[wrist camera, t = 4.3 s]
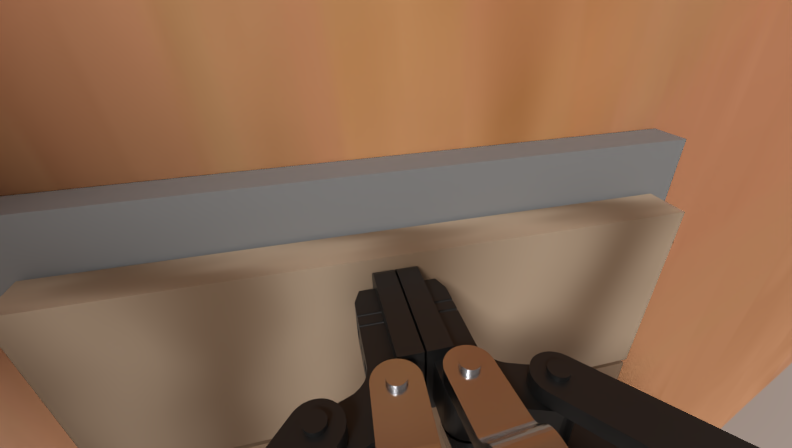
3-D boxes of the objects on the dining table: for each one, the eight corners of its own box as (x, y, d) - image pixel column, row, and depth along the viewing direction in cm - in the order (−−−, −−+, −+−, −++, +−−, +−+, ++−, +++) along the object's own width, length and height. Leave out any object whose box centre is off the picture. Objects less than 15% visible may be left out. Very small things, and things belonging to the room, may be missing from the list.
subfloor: (215, 581, 25) (206, 647, 23) (-24, 198, 12) (-118, 254, 9) (544, 488, 30) (569, 535, 27) (655, 128, 16) (726, 152, 13)
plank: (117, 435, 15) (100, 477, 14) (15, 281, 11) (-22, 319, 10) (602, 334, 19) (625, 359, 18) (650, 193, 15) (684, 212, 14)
